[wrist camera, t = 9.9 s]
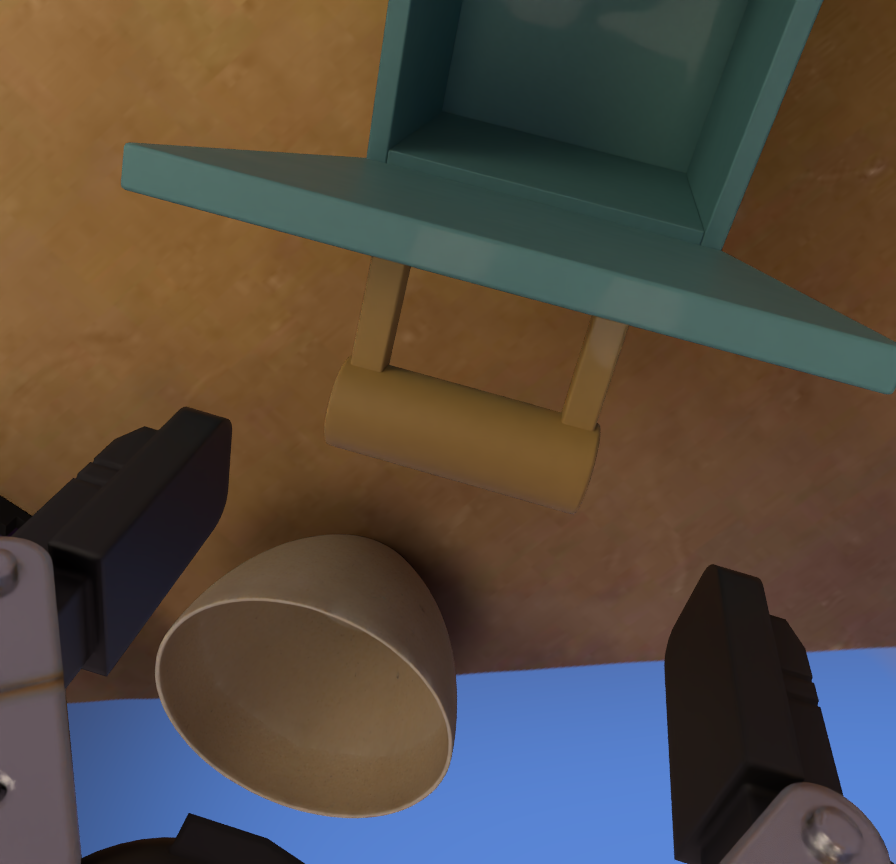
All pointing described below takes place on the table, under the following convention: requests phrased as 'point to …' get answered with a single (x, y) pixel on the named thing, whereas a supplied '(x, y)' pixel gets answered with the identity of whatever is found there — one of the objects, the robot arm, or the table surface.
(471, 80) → the chest
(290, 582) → the beige bowl
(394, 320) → the lid
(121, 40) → the table surface
